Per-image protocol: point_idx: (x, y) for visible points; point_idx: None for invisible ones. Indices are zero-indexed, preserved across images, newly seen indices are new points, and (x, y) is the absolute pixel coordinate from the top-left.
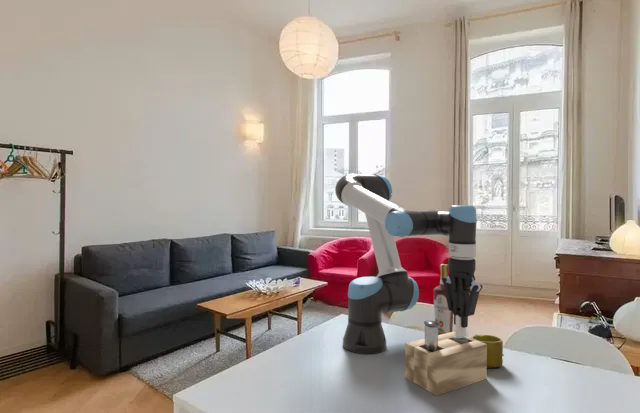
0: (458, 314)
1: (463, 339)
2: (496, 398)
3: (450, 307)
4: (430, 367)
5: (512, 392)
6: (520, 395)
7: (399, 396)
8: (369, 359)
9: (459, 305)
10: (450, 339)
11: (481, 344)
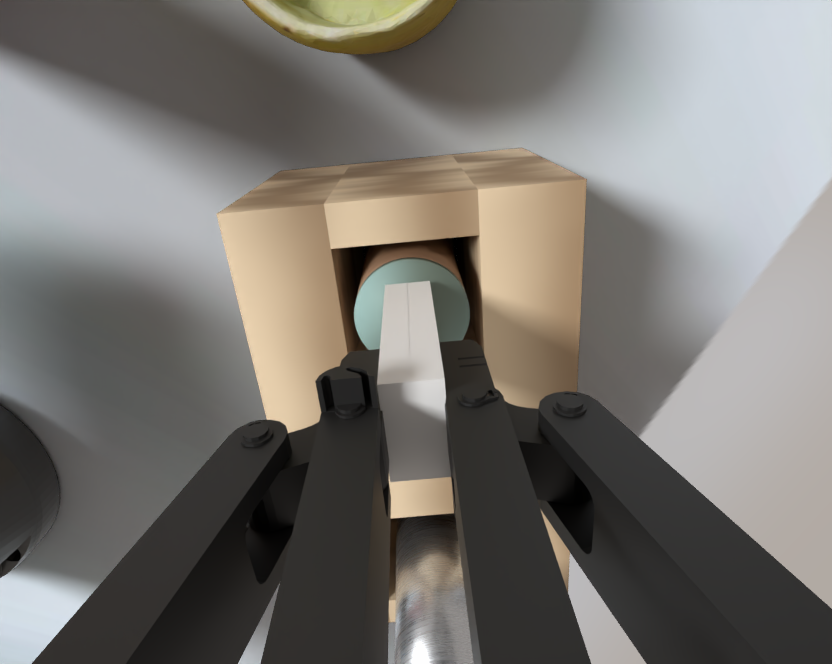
0: (386, 444)
1: (446, 318)
2: (676, 273)
3: (287, 542)
4: None
5: (694, 147)
6: (736, 135)
7: None
8: (120, 522)
9: (381, 517)
10: (348, 347)
11: (565, 229)
